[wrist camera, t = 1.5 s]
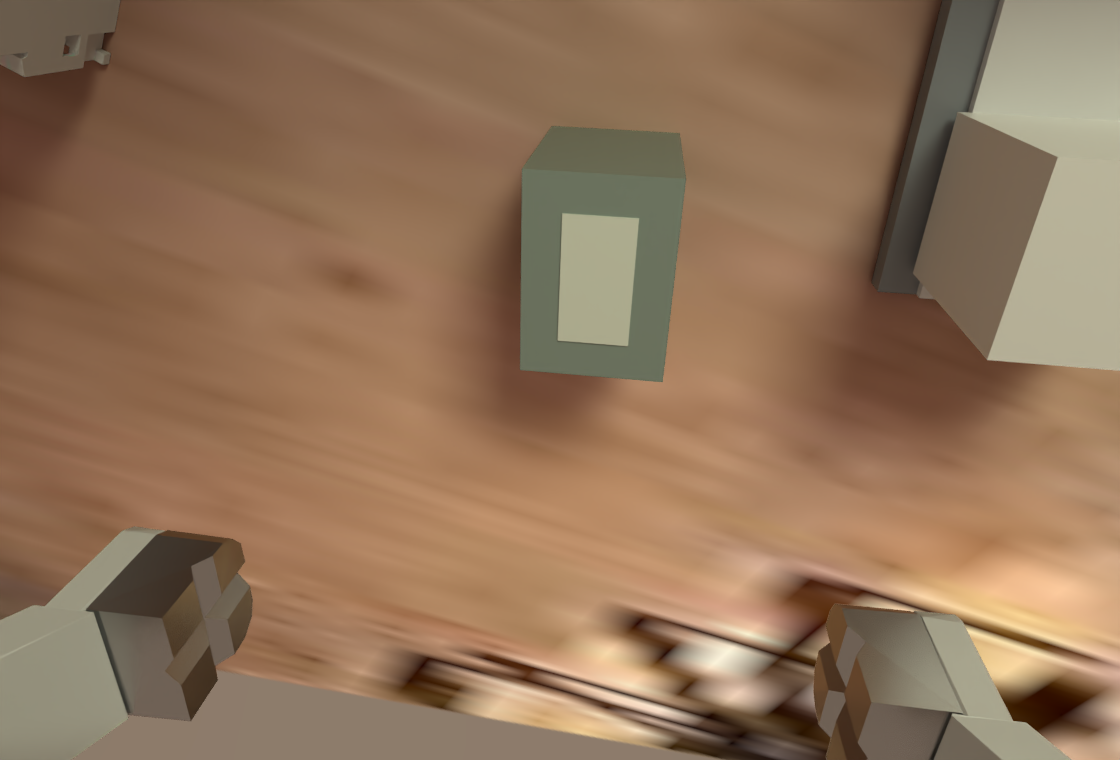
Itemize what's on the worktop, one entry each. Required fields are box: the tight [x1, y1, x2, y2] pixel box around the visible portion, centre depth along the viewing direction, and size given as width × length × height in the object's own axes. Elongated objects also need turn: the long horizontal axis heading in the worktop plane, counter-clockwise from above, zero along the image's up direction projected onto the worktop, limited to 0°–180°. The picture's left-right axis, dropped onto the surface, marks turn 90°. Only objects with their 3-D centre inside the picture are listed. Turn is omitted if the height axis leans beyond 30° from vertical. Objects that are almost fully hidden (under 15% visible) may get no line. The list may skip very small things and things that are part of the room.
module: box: [520, 126, 686, 382], centre depth 27 cm, size 7×5×8 cm
